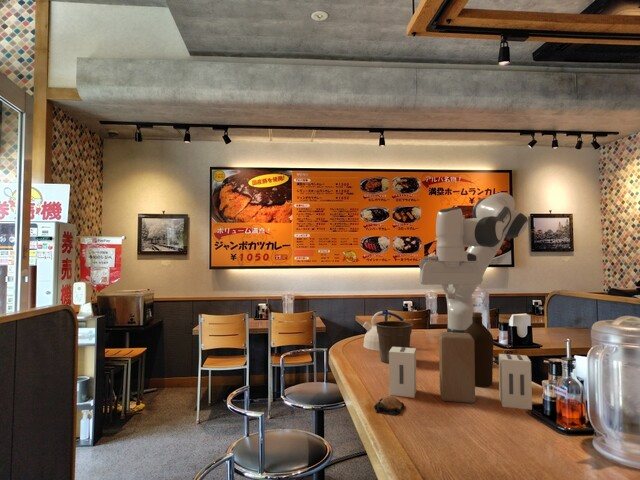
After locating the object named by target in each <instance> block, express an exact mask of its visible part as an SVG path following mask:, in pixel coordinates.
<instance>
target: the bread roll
mask: <svg viewBox="0 0 640 480" xmlns="http://www.w3.org/2000/svg"><path fill="white" fill-rule="evenodd" d="M373 407H374V413H376V414H382V415H387V416H395V417H396V416H400V415H401V414H402V412H403V410H404V409H405V404H404V402H401V401H400V399H398V398H397V397H396V396H385V397H384V398H383V397H382V398H380V399H379V400H378V402H377V403H376V404H374V405H373Z"/></svg>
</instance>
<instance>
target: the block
mask: <svg viewBox="0 0 640 480" xmlns="http://www.w3.org/2000/svg"><path fill="white" fill-rule="evenodd" d="M438 336H439V337H438V338H439V340H438V342H439V343H438V347H439V349H438V350H439V351H438V352H439V392H440V398H441V400H442V401H444V402H452V403H453V402H454V403H455V402H456V403H464V404H465V403H466V404H473V403H475V401H476V386H475V354H474V339H473V338H472V336H471V335H470V334H469V333H454V332H447V331H441V332H440V333H439V335H438Z"/></svg>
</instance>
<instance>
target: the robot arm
mask: <svg viewBox="0 0 640 480" xmlns="http://www.w3.org/2000/svg"><path fill="white" fill-rule="evenodd" d="M515 207H516V202H515V199H514V197H513V196H512V195H510V194H509V193H507V192H497V193H494V194H490V195H489V196H487V197H483V198H480V199H478V201H477V202H476V203H475V204H474V206H473V208H472V212H471V214H472V218H466V217H464V216H463V210H462V208H460V207H455V206H454V207H447V208H442V209H440V210H439V211H437V213H436V214H437V215H436V221H435V223H436V224H435V235H436V240H437V241H436V246H435V250H436V253H435V254H436V255H435V256H433V255H432V256H428V255H427V256H423V257H422V258H420V259H419V261H418V264H419V265H418V266H419V267H418V268H419V279H418V280H419V284H421V285H425V286H427V285H429V286H437V285H438V286H441V288H442V290H443V292H444V293H445V298H446V305H447V306H446V307H447V327H446V332H454V333H464V331H465V330H466V329H467V328H468V327H469V326H470V325H471V324H472V316H473V314H472V313H473V312H475V309H474V299H473V294H474V293H475V291H476V289H477V288H478V286H479V285H481V284H482V283H483V282H484V281H483V276H484V275H485V272H486V271H487V269H488V267H489V265H490V264H491V262H492V261H493V260H494V258H495V256H497V254H498V252H499V250H500V249H501V247H502V245H503V243H504V240H506V241H507V240H509V239H516V238H519V237H520V236H521V235H522V234H523V233H524V232H525V231H526V229H527V227H528V221H529V219H528V217H527V216H526V215H525V214H523V213H522V212H519V211H517V210H516V209H515ZM465 247H467V249H466V250H465ZM495 361H496V358H495V357H494V356H493V362H495Z"/></svg>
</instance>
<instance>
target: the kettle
mask: <svg viewBox="0 0 640 480" xmlns="http://www.w3.org/2000/svg"><path fill="white" fill-rule="evenodd" d="M379 315H389V316H392V317H394V318H396V319H397V320H398V321H403V322H404V318H402V317H401V316H399V315H397V314H396V313H394V312H391V311H385V310H382V311H377V312H376V313H375V314H373V316H372V318H371V324H370V323H369V322H368V321H365V322H364V323H363V325H362V327H363V328H364V329H365V330H366V333H365V335H364V337H363V338H364V339H363V348H365V349H367V350H369V351H378V352H380V347H379V338H378V333H377V327H376V325H375V323H376V318H377V317H378V316H379Z"/></svg>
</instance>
